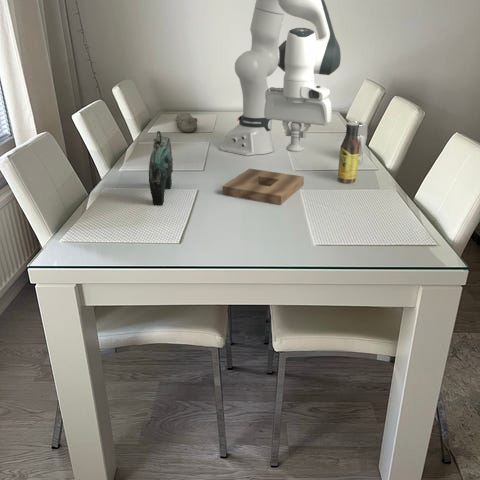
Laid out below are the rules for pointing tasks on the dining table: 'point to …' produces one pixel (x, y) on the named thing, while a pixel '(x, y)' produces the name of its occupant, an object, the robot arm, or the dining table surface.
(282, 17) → the robot arm
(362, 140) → the beer glass
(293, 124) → the chess piece
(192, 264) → the dining table surface
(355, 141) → the sauce bottle
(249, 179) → the walnut board
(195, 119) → the long grey stone
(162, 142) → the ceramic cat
